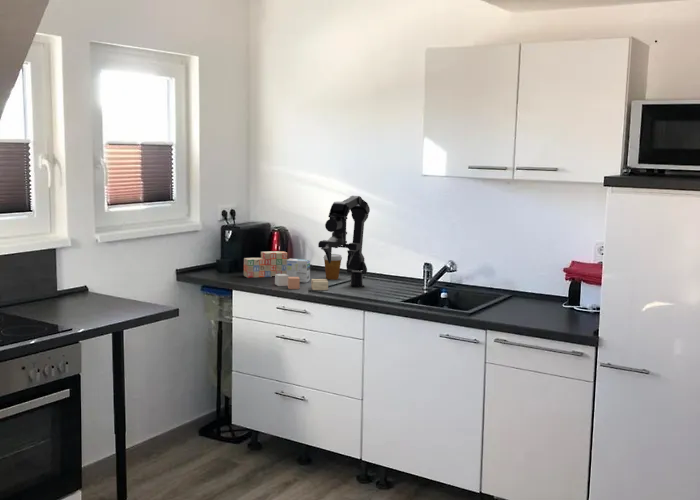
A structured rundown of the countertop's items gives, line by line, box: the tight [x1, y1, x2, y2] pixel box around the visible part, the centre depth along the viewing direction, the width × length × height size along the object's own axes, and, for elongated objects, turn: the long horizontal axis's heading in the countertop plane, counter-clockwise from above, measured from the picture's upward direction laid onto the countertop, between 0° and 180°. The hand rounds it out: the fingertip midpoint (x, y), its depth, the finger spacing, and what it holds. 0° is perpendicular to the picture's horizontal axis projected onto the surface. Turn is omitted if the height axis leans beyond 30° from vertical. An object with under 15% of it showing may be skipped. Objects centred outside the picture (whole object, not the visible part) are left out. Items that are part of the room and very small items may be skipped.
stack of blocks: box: [243, 250, 289, 279], centre depth 390 cm, size 21×6×12 cm, turn 116°
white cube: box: [274, 274, 289, 287], centre depth 366 cm, size 5×5×5 cm
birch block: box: [310, 278, 329, 291], centre depth 359 cm, size 7×7×4 cm
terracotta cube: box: [287, 277, 301, 290], centre depth 359 cm, size 5×5×5 cm
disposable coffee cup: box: [323, 253, 343, 281], centre depth 388 cm, size 10×10×12 cm
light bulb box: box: [286, 258, 311, 283], centre depth 378 cm, size 11×7×11 cm, turn 80°
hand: (338, 264), depth 348 cm, fingers open, 9 cm apart
